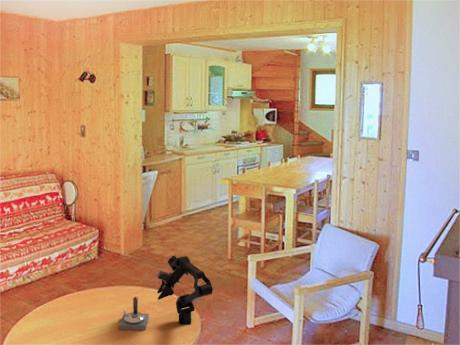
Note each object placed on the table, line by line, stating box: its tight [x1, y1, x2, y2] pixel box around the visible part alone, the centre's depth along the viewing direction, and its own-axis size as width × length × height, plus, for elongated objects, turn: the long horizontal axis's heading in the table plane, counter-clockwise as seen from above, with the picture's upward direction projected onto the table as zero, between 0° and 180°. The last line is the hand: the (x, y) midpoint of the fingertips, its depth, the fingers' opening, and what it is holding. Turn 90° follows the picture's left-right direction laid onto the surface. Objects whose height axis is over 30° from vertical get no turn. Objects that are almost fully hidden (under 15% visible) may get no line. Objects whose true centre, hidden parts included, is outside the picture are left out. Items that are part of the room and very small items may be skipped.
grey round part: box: [124, 296, 145, 324], centre depth 275 cm, size 11×13×10 cm
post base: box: [118, 308, 150, 331], centre depth 275 cm, size 14×14×6 cm
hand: (157, 295), depth 280 cm, fingers open, 9 cm apart
